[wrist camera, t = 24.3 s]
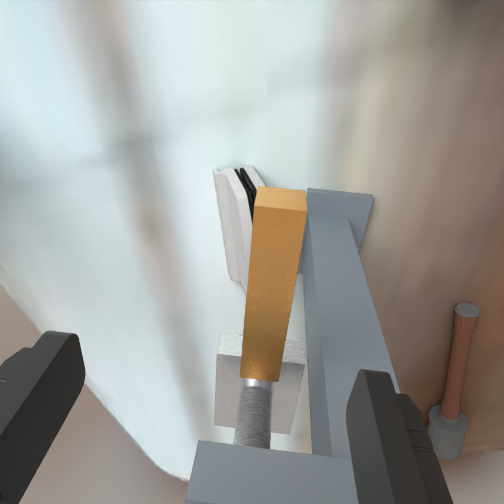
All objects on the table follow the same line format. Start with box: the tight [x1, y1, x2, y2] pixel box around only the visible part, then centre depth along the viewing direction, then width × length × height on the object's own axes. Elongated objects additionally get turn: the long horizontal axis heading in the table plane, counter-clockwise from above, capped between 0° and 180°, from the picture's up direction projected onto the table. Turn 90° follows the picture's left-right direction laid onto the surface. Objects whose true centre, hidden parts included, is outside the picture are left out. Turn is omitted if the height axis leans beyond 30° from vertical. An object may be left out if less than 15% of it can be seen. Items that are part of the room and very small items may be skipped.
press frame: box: [186, 188, 400, 504], centre depth 35 cm, size 15×12×36 cm
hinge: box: [213, 165, 266, 296], centre depth 47 cm, size 17×5×10 cm, turn 5°
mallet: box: [428, 303, 480, 460], centre depth 60 cm, size 6×6×30 cm
